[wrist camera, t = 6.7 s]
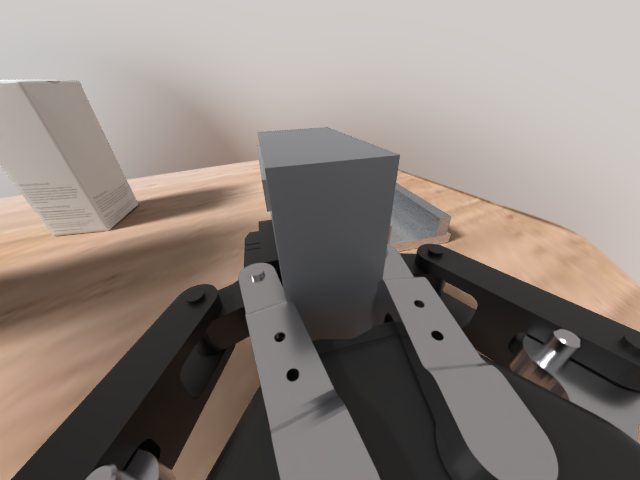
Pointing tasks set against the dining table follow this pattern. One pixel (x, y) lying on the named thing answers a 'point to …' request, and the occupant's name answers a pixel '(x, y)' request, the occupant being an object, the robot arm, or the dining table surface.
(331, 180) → the grey rectangular block
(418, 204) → the rack
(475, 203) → the dining table surface
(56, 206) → the skincare box
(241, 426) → the robot arm
